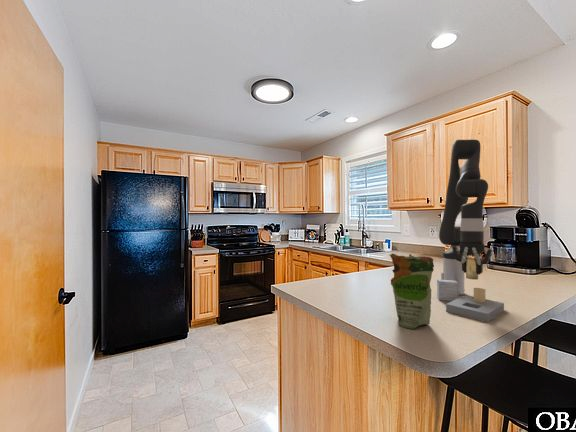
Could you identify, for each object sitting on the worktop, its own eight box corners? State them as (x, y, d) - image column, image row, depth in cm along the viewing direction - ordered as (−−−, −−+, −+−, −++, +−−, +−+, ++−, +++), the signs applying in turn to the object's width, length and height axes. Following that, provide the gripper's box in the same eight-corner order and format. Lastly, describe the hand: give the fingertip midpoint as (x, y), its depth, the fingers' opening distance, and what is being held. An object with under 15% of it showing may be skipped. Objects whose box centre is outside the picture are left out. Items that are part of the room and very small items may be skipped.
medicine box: (456, 299, 123) (456, 280, 123) (458, 302, 119) (458, 282, 119) (436, 297, 126) (436, 279, 126) (438, 300, 122) (438, 281, 122)
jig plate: (446, 311, 107) (446, 291, 107) (464, 301, 120) (464, 283, 120) (488, 322, 96) (488, 300, 96) (504, 310, 108) (504, 290, 109)
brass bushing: (464, 278, 106) (464, 257, 106) (468, 276, 108) (468, 257, 108) (476, 279, 103) (476, 259, 103) (479, 278, 105) (479, 258, 105)
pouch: (437, 329, 90) (437, 255, 90) (406, 332, 87) (406, 256, 87) (415, 317, 101) (415, 251, 101) (387, 320, 98) (387, 252, 98)
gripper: (496, 230, 102) (497, 275, 102) (455, 229, 113) (455, 269, 113) (490, 230, 98) (491, 277, 97) (448, 229, 109) (448, 271, 109)
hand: (472, 273), depth 105 cm, fingers closed on brass bushing, 4 cm apart
